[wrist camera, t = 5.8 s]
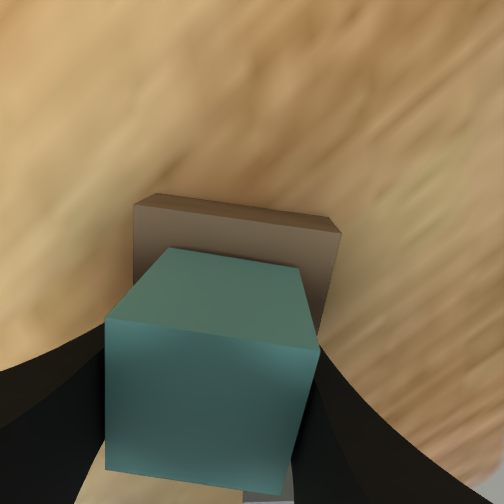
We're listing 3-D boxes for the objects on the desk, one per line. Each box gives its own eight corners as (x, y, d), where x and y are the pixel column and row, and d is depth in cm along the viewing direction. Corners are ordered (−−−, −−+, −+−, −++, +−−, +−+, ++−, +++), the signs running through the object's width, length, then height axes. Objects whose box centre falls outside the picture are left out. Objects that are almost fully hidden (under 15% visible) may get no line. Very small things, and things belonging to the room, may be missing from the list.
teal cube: (274, 373, 14) (279, 496, 9) (160, 355, 13) (105, 469, 9) (298, 268, 12) (320, 351, 7) (168, 247, 12) (104, 317, 7)
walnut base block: (296, 354, 17) (302, 395, 15) (154, 334, 17) (133, 372, 15) (327, 215, 15) (341, 233, 12) (158, 191, 15) (133, 204, 12)
